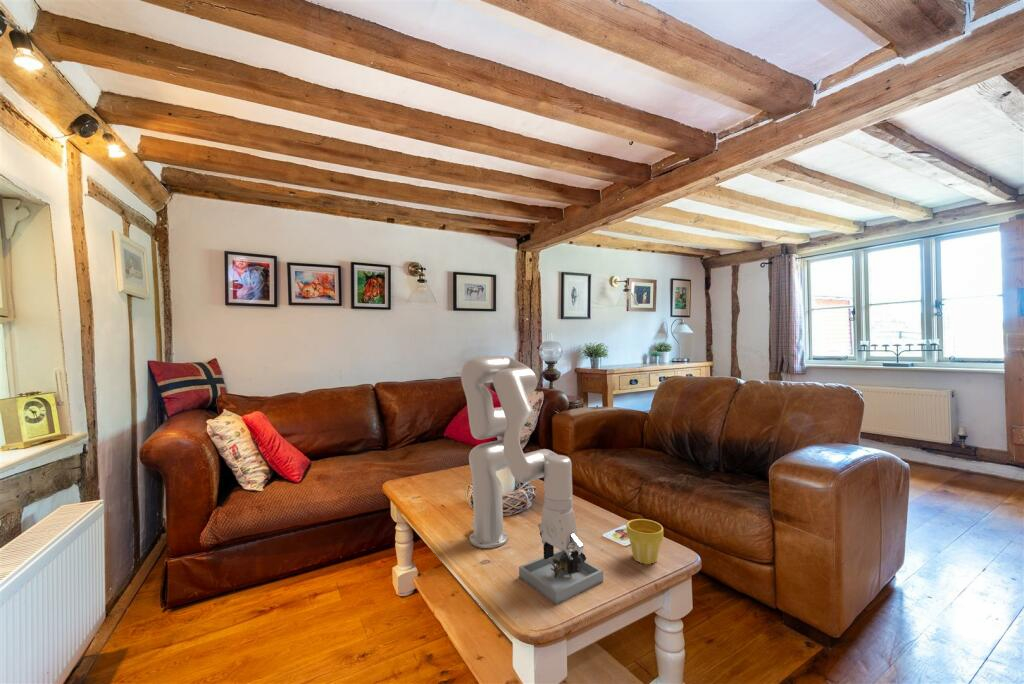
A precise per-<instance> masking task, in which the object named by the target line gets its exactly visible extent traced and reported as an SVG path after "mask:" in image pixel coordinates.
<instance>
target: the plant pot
mask: <svg viewBox="0 0 1024 684" xmlns="http://www.w3.org/2000/svg"><path fill="white" fill-rule="evenodd" d="M626 536H627V538H628V539H629V543H630V547H631V553H632V557H633V559H634V560H635V561H636V562H637V561H638V562H637V563H639V562H640V563H639V564H642V563H644V564H643V565H652V564H651V563H653V564H655V563H657V561H658V557H659V552H660V548H661V544H662V542H663V541H664V527H663V525H662V524H661V523H659V522H657V521H654V520H651V519H645V518H637V519H636V518H635V519H630V520H628V522H627V523H626ZM654 562H655V563H654Z"/></svg>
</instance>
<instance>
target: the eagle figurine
mask: <svg viewBox="0 0 1024 684" xmlns="http://www.w3.org/2000/svg"><path fill="white" fill-rule="evenodd" d="M570 551H571V553H573V550H570ZM568 558H569V557H568V555H567V553H563V554H562V556H561V557H560V560H557V559H556V558H555V557H549V561H550V562H551V564H552V565H553V566H554V569H553V568H551V570H553V571H554V572H555V575H554V578H555V577H557V576H558V574H559V572H560V571H561V570H563V571H564V572H565V573H567V574H568V572H567V559H568ZM585 561H587V557H586V554H585V553H584V552H582V554H581V555H580V556H579V557H578V564H582V563H584V562H585ZM555 564H556V566H555ZM578 570H580V571H581V568H579V567H578ZM568 575H569V576H570V577H571V578H572V574H568Z"/></svg>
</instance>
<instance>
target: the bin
mask: <svg viewBox="0 0 1024 684" xmlns="http://www.w3.org/2000/svg"><path fill="white" fill-rule="evenodd" d="M563 553H566V551H561V550H559V549H558V550H557V551H554V556H553V557H555V558H556V559H557V560H560V557H561V556H562V554H563ZM555 566H556V564H555ZM578 567H579V568H581V571H580V570H578V571H576V572H574V573H572V578H571V577H570V576H569V575H568V574H567V573H565V572H564V571H563V570H561V571H560V572H559V574H558V576H557V577H555V578H554V575H555V572H554V571H553V570H551V568H553V569H554V566H553V565H552V564H551V562H550V561H549V558H548V559H544V556H542V557H539V558H537V559H535V560H533V561H529V562H527V563H524V564H522V565H520V566H518V577H520V578H519V579H520V580H522V581H524V582H525V583H526V584H528V586H530V587H531V588H533V589H534V590H536V591H537V592H538V593H540V594H541V595H542V596H543V597H544V598H547V600H549V601H550V602H551V603H553V604H554V605H556V606H559V605H560V604H562V603H563V602H565V601H567V600H570V599H571V598H574V597H576V596H578V595H580V594H582V593H584V592H586V591H588V590H590V589H592V588H594V587H596V586H598V585H600V584H602V583H604V570H602V569H601V568H599V567H597V566H595V565H594V564H592V563H590V562H588V561H587V560H586V561H585V562H584V563H582V564H578Z"/></svg>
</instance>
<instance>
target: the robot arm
mask: <svg viewBox="0 0 1024 684" xmlns="http://www.w3.org/2000/svg"><path fill="white" fill-rule="evenodd" d="M460 372H461V373H460V379H461V385H462V388H463V391H464V395H465V398H466V405H467V406H466V407H467V415H468V423H469V428H470V434H471V436H472V437H473V438H474V439H476V440H480V441H481V440H486V439H491V438H496V439H497V440H494V441H489V442H483V443H480V444H478V445H475V446H474V447H473V448H472V449H471V450H470V452H469V454H468V462H469V467H470V472H471V479H472V481H471V482H472V499H473V521H472V522H471V523H470V525H471V527H473V532H472V533H471V534H470V535H469V543H470V544H471V545H472V546H474V547H477V548H480V549H494V548H498V547H501V546H503V545H504V544H506V543H507V541H508V540H509V534H508V532H507V531H506V530H504V515H503V487H502V486H503V485H502V482H501V480H500V478H499V477H498V476H497V473H496V472H498V471H501V470H504V469H509V471H510V473H511V475H512V477H513V478H514V479H515V480H516V481H517V482H519V483H529V482H532V481H536V480H538V479H541V478H542V479H544V481H543V482H544V503H543V506H542V510H541V511H542V513H541V523H539V524H538V523H537V524H538V525H537V527H538V530H539V535H540V537H541V543H542V545H543V557H544V559H548V558H549V557H553V556H554V552H555V551H554V549H555V548H556V549H558V551H559V550H561V551H566V553H567V555H568V557H569V558H568V559H567V572H568V574H572V573H574V572H576V571H578V557H579V556H580V555H581V554H582V553H583V550H584V548H585V547H584V546H585V545H584V544H583V543H582V542H581V540H580V539H579V538H578V535H577V523H576V522H577V521H576V515H575V510H574V509H573V507H574V506H573V505H574V504H573V502H574V501H573V500H574V499H573V476H572V475H573V471H572V470H573V469H572V468H573V467H572V460H571V458H570V457H569V456H567V455H562V454H558V453H556V452H554V451H552V450H550V449H549V448H548V449H546V448H543V449H542V448H541V449H537V450H534V451H531V452H526V453H524V451H523V449H522V444H521V441H520V439H521V437H520V436H521V431H522V429H523V427H524V426H525V424H526V423H528V422H529V421H530V420H532V419H533V417H534V415H535V412H534V409H533V406H532V404H531V402H530V399H529V396H528V394H531V393H533V392H534V391H536V389H537V386H538V378H537V375H536V374H535V372H534V370H532V368H530V367H529V366H528V365H525V363H522V362H520V361H518V360H517V359H514V358H512V357H511V356H506V355H497V356H481V357H480V356H479V357H474V358H471V359H469V360H467V361H466V362H465V363H464V364H463V366H462V368H461V371H460ZM488 383H493V387H494V390H495V393H496V395H497V398H498V401H499V403H500V407H494V401H493V395H492V393H491V392H490V390H489V388H488V387H487V386H486V385H485V384H488ZM571 551H573V553H571Z"/></svg>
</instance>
